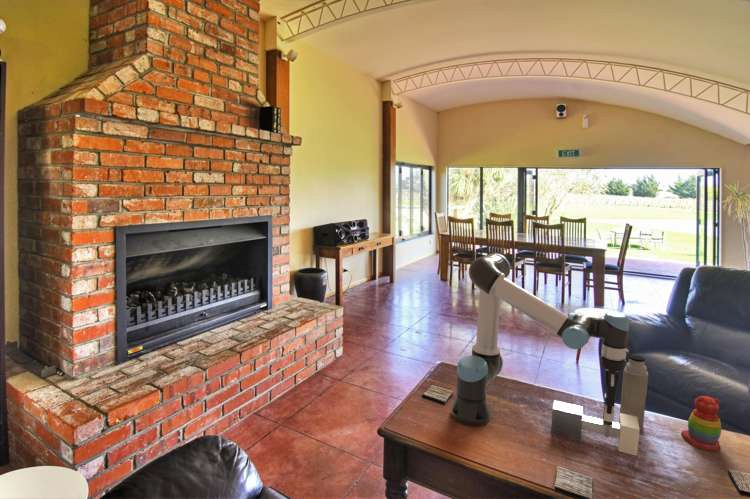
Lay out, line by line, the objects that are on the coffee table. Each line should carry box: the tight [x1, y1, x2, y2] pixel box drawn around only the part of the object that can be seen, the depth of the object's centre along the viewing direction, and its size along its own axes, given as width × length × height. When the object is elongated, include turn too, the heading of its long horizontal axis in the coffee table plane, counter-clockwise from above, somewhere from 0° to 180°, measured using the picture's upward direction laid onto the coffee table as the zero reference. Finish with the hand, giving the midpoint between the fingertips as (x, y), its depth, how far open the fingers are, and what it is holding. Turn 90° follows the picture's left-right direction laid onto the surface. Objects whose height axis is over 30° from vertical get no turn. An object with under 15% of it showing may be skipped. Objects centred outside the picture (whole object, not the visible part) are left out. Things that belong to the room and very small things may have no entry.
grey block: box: [550, 399, 584, 441], centre depth 156 cm, size 10×7×10 cm
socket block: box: [616, 412, 641, 456], centre depth 147 cm, size 6×9×10 cm, turn 152°
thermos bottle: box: [619, 354, 649, 432], centre depth 159 cm, size 8×8×28 cm
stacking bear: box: [680, 395, 722, 452], centre depth 149 cm, size 11×10×18 cm
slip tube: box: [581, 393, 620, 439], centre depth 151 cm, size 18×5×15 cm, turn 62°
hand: (607, 418), depth 150 cm, fingers closed on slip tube, 3 cm apart
